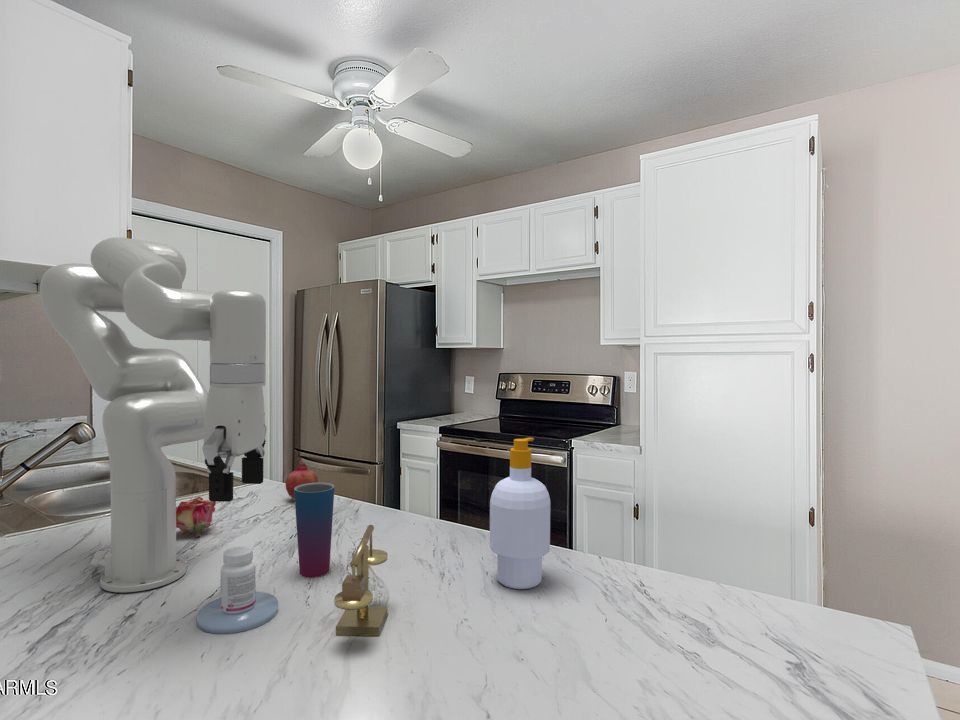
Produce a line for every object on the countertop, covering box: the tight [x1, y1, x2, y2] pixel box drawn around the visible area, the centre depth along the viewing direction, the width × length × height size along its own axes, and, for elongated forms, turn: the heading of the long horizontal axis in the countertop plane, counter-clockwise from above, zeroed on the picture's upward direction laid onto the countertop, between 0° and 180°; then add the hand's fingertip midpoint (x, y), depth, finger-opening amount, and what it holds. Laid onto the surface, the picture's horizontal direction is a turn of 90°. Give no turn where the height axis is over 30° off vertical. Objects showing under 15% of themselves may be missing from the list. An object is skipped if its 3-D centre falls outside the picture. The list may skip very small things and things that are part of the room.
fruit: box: [285, 461, 319, 500], centre depth 143 cm, size 8×8×10 cm
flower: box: [176, 496, 221, 539], centre depth 117 cm, size 10×9×8 cm
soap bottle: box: [489, 437, 551, 590], centre depth 95 cm, size 10×10×24 cm
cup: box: [294, 482, 335, 579], centre depth 98 cm, size 7×7×15 cm
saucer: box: [196, 591, 279, 635], centre depth 82 cm, size 11×11×1 cm
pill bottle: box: [220, 546, 256, 614], centre depth 82 cm, size 5×5×8 cm
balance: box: [333, 524, 389, 637], centre depth 80 cm, size 6×15×13 cm, turn 178°
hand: (237, 491), depth 82 cm, fingers open, 9 cm apart
